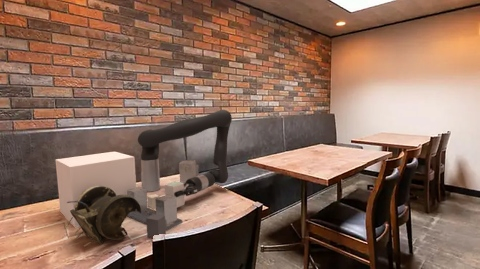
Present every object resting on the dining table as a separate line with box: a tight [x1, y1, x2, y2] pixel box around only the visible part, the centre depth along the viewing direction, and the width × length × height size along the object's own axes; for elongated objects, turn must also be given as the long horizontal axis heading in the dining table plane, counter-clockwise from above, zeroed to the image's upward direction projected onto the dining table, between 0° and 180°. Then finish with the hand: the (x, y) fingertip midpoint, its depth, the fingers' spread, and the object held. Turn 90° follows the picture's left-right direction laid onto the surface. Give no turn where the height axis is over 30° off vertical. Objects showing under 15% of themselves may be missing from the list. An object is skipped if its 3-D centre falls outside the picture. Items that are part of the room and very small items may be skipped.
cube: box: [55, 151, 137, 228], centre depth 118 cm, size 25×21×24 cm
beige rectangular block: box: [147, 193, 161, 210], centre depth 123 cm, size 4×4×5 cm
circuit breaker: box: [178, 159, 200, 183], centre depth 153 cm, size 8×14×15 cm, turn 174°
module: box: [164, 180, 185, 208], centre depth 119 cm, size 6×6×10 cm
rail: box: [127, 186, 183, 231], centre depth 109 cm, size 26×9×11 cm, turn 55°
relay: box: [146, 214, 167, 239], centre depth 96 cm, size 5×4×7 cm
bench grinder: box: [64, 186, 141, 247], centre depth 95 cm, size 20×22×20 cm
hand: (170, 193), depth 117 cm, fingers closed on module, 5 cm apart
